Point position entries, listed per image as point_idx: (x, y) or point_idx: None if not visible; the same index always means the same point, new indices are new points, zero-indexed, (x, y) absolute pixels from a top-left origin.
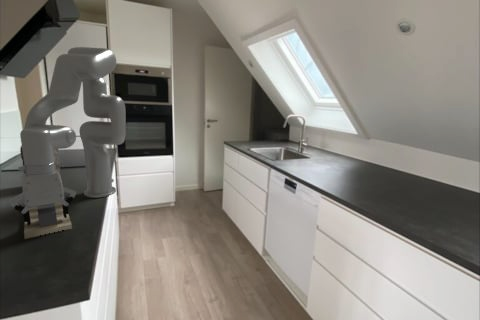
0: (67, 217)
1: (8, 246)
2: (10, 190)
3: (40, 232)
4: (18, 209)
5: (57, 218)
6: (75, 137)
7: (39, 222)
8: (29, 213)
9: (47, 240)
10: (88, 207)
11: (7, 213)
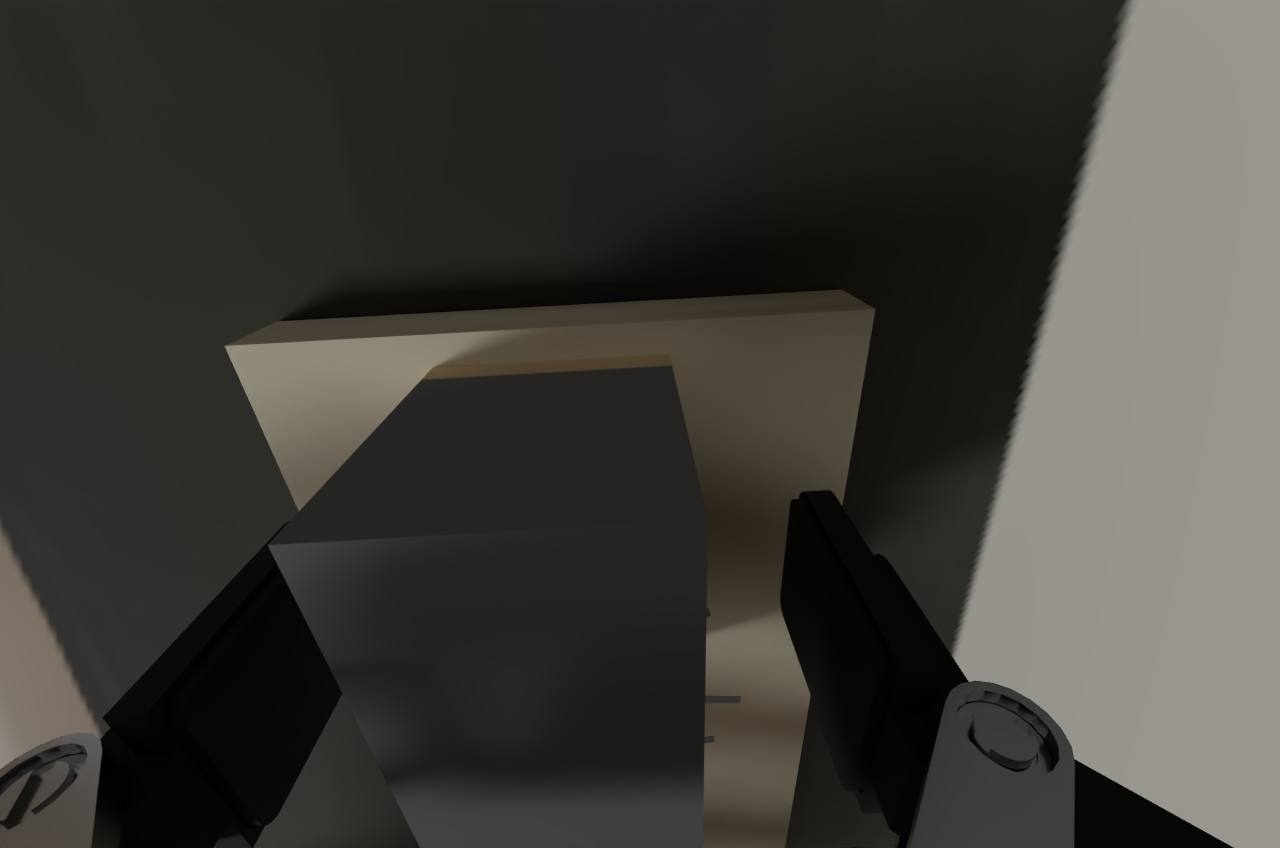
0: None
1: (1044, 159)
2: None
3: (664, 315)
4: (1171, 841)
5: None
6: None
7: (674, 412)
8: (820, 722)
9: (569, 60)
10: None
11: (884, 844)
